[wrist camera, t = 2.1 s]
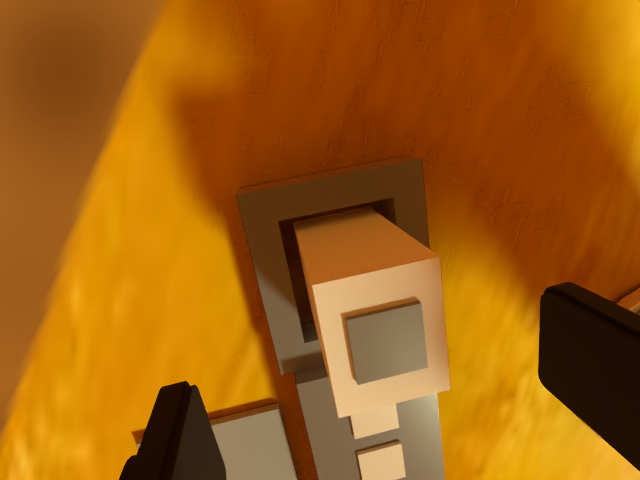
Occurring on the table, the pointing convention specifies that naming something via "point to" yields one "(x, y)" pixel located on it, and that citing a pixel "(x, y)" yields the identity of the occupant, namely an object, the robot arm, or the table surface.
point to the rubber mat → (254, 445)
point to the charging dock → (301, 338)
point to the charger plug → (374, 309)
